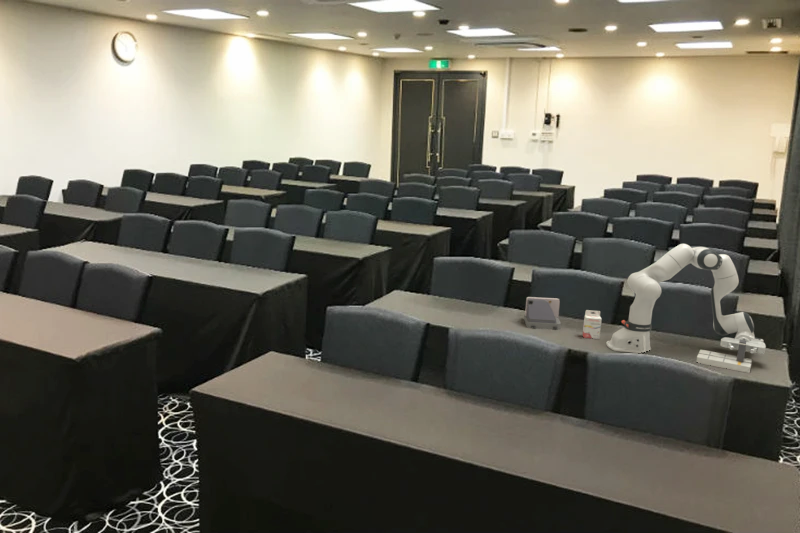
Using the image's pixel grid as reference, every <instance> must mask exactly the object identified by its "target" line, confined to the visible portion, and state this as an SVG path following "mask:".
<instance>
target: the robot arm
mask: <svg viewBox="0 0 800 533" xmlns="http://www.w3.org/2000/svg"><path fill="white" fill-rule="evenodd" d="M688 265H691V266H693V267H695V268H697V269H700V270H704V271H711V272H712V276H713V280H714V285H713V287H712V288H711V289H710V300H711V309H712V318H713V324H712V325H713V326H712V327H713V330H714V332H715V333H716V334H718V335H720V336H725V337H722V338H721V339H720V344H719V345H720V347H722V348H726V349H727V348H728V349H729V350H732V351H733V350H737V351H738V348H739V341H740V340H745V341H747V343H746V349H745V353H746V352H748V353H750V354H760V355H765V353H766V348H767V345H766V343H765V342H764V339H763V338H759V337H756V336H755V332H754V331H755V323H754V320H753V317H752V316H751V315H750V314H749V313H748V312H745V311H741V312H735V313H732V314H726V315H723V314H722V308H721V300H722V299H723V298H724V297H725V296H727V295H728V294H730V293H733V292H734V290H735V289H736V288H737V287H738V286H739V283H740V282H739V281H740V280H739V275H738V272H737V268H736V266H735V264H734V262H733V260H732V259H731V257H730V256H729V255H728V254H726V253H725V254H724V253H720V254H719V253H717V252H716V251H715V250H714V249H710V248H708V247H706V246H700V245H699V246H690V245H689V244H687V243H680V244H678V245H677V246H676V245H675V247H673V248H672V249H670V250H669V251H667V252H666V253H665V254H664V255H663V256H660V258H659V259H658V260H656V261H655V262H653V263H652V264H651V265H648V266H647V267H645V268H643V269H641V270H639V271H636V272H633V273H630V275H629V276H628V277H627V282H626V284H627V286H628V288H629V289H630V291H632V292H633V293H634V294H635V296H634V297H635V298H634V300H633V302H632V304H630V306H629V314H628V319H627V321H626V320H625V319H622V320H621V323H622V324H623V327H622V328H620V329H618V330H616V331H615V332H613V333H612V336H611V339H610V340H607V341H606V343H605V345H606V346H607V347H608V349H610V350H612V351H614V352H622V353H634V354H642V353H641V352H645V353H647V352H646V351H648V352H650V351H651V350H652V347H651V340H650V339H651V338H650V337H651V331H652V317H653V310H654V307H655V304H656V301H657V300H658V299H659V298H660V297H661V295H662V287H661V285H660V284H661V283H663V282H665V281H668V280H671V279H672V278H673V277H674V276H675V275H677V274H678V273H679V272H680V271H682V269H684V268H685V267H686V266H688ZM734 333H736V334H735V337H734V338H733V337H728V336H727V335H729V334H730V335H731V334H734ZM726 336H727V337H726ZM649 350H650V351H649Z"/></svg>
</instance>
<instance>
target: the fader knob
mask: <svg viewBox="0 0 800 533" xmlns="http://www.w3.org/2000/svg"><path fill="white" fill-rule="evenodd" d="M746 343H747V341H745V340H740V341H739V348H738V350H737V355H736V356H737V359H736V361H740V362H744V358H745V355H746V352H745V349H746Z"/></svg>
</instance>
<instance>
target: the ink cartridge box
mask: <svg viewBox="0 0 800 533" xmlns="http://www.w3.org/2000/svg"><path fill="white" fill-rule="evenodd" d="M583 318H584V320H583V327H582V336H583V339H592V338H593V339H595V340H600V337H601V336H600V335H601V328H602V320H603V319H602V317H601V311H600V310H589V309H586V310H585V313H584V317H583Z"/></svg>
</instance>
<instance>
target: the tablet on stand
mask: <svg viewBox="0 0 800 533" xmlns="http://www.w3.org/2000/svg"><path fill="white" fill-rule="evenodd" d="M560 300H561V299H560V298H556V297H555V298H554V297H540V296H539V297H536V296H527V297H526V300H525V311H524V314H523V321H524V323H525V325H526V326H525V327H527V328H529V329H541V330H557V331H559V330H561V328H562V326H561V325H562V323H561V321H560V319H559V317H560V303H561V302H560Z"/></svg>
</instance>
